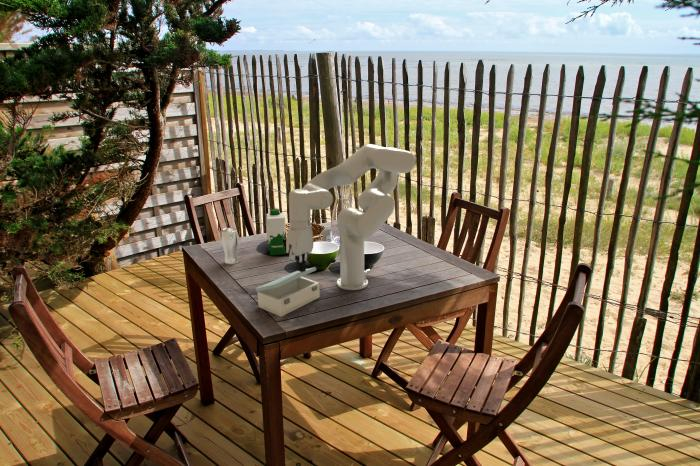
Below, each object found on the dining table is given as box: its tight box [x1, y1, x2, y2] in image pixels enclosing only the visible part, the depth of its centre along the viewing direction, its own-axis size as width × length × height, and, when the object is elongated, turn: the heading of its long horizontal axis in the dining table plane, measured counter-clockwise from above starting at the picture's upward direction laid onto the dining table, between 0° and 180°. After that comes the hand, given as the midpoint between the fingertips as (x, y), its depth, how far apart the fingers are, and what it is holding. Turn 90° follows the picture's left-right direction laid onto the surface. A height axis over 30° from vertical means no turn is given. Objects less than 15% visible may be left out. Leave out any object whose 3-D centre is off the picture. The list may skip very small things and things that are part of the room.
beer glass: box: [220, 227, 239, 265], centre depth 232 cm, size 7×7×15 cm
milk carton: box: [265, 208, 287, 256], centre depth 242 cm, size 9×9×20 cm
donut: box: [319, 227, 332, 241], centre depth 249 cm, size 10×4×10 cm, turn 91°
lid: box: [255, 266, 317, 292], centre depth 194 cm, size 20×12×1 cm, turn 140°
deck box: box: [256, 276, 321, 317], centre depth 195 cm, size 20×13×6 cm, turn 140°
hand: (301, 270), depth 196 cm, fingers closed
